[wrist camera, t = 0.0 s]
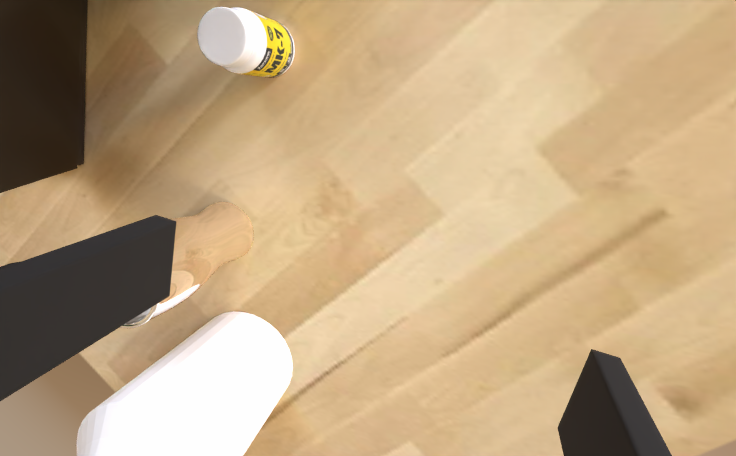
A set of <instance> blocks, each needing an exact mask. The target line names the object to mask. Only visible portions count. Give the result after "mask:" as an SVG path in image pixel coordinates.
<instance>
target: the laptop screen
mask: <svg viewBox="0 0 736 456" xmlns="http://www.w3.org/2000/svg"><path fill="white" fill-rule="evenodd" d="M80 2H81V0H0V193H2V192H5V191H8V190H11V189H14V188H17V187H20V186H23V185H26V184H30V183H33V182H36V181H39V180H42V179H45V178H48V177H51V176H54V175H57V174H61V173H64V172H67V171H70V170H73V169H76V168H77V158H78V106H79V54H80Z"/></svg>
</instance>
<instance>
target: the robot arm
mask: <svg viewBox="0 0 736 456" xmlns="http://www.w3.org/2000/svg"><path fill="white" fill-rule="evenodd" d="M175 232H176V221H174V220H170V219H167V218H164V217H161V216H157V215H154V216H152V217H149V218H146V219H143V220H140V221H137V222H134V223H131V224H129V225H126V226H123V227H120V228H117V229H114V230H111V231H108V232H106V233H103V234H100V235H97V236H94V237H91V238H88V239H85V240H83V241H80V242H77V243H74V244H71V245H68V246H65V247H62V248H60V249H57V250H54V251H51V252H48V253H45V254H42V255H39V256H36V257H34V258H31V259H28V260H25V261H22V262H16V263H10V264H7V265H5V266H2V267H0V401H1V400H3V399H4V398H6V397H8V396H9V395H11V394H13V393H14V392H16V391H17V390H19V389H21V388H22V387H24V386H26V385H27V384H29V383H30V382H32V381H34V380H35V379H37V378H38V377H40V376H42V375H43V374H45V373H47V372H48V371H50V370H51V369H53V368H55V367H56V366H58V365H59V364H61V363H62V362H64V361H66V360H67V359H69V358H71V357H72V356H74V355H75V354H77V353H79V352H80V351H82V350H84V349H85V348H87V347H88V346H90V345H92V344H93V343H95V342H96V341H98V340H100V339H101V338H103V337H105V336H106V335H108V334H109V333H111V332H113V331H114V330H116V329H117V328H119V327H121V326H122V325H124V324H125V323H127V322H129V321H130V320H132V319H134V318H135V317H137V316H138V315H140V314H142V313H143V312H145V311H146V310H148V309H150V308H151V307H153V306H154V305H156V304H158V303H159V302H161V301H163V300H164V299H166V298H167V297H169V296H170V286H171V275H172V264H173V253H174V242H175ZM558 431H559V436H560V440H561V445H562V449H563V454H564V456H672V455H671V453H670V451H669V450H668V448H667V446H666V444H665V442H664V440H663V438H662V436H661V434H660V433H659V431H658V429H657V427H656V425H655V423H654V421H653V419H652V417H651V416H650V414H649V412H648V410H647V408H646V406H645V404H644V402H643V400H642V399H641V397H640V395H639V393H638V391H637V389H636V387H635V385H634V383H633V382H632V380H631V378H630V376H629V374H628V372H627V370H626V368H625V366H624V365H623V363H622V361H621V359H620V358H618V357H615V356H612V355H609V354H605V353H602V352H599V351H596V350H592V349H591V352H590V354H589V356H588V359H587V361H586V363H585V365H584V368H583V370H582V372H581V375H580V377H579V379H578V382H577V384H576V386H575V389H574V391H573V393H572V396H571V398H570V400H569V403H568V405H567V407H566V410H565V412H564V414H563V417H562V419H561V421H560V423H559V426H558Z"/></svg>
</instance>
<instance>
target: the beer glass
mask: <svg viewBox="0 0 736 456" xmlns="http://www.w3.org/2000/svg"><path fill="white" fill-rule="evenodd" d="M170 220H174V221H176V232H175V242H174V253H173V264H172V275H171V286H170V296H169V297H167V298H166V299H164V300H163V301H161V302H159V303H158V304H156V305H154V306H153V307H151V308H150V309H148V310H146V311H145V312H143V313H142V314H140V315H138V316H137V317H135V318H134V319H132V320H130V321H129V322H127V323H125V324H124V325H122V326H121V327H122V328H135V327H138V326H141V325H143V324H145V323H146V322H147V321H149V320H151V319H153V318H155V317H157V316H159V315H161V314H163V313H165V312H167V311H168V310H170V309H172V308H173V307H175V306H177V305H178V304H180V303H182V302H183V301H184V300H186V299H187V298H189V297H190V296H191V295H193V294H194V293H195V292H196V291H197V290H198V289H199V288H200V287H201V286H202V285H203V284H204V283H205V282H206V281H207V280H208V279H209V278H210V277H211V276H212V275H213V273H214V272H215V271H216V270H217V269H218V268H219V267H220V266H221V265H223V264H224V263H226V262H230V261H233V260H236V259H239V258H241V257H243V256H244V255H245V254H247V252H248V251H249V250H250V248H251V246H252V244H253V240H254V230H253V226H252V223H251V221H250V219H249V217H248V216H247V214H246V213H245V212H244V211H243V210H242V209H241V208H239V207H238V206H236V205H234V204H232V203H228V202H217V203H214V204H211V205H209V206H208V207H206V208H205V209H204V210H203V211H201V212H200V213H199V214H197V215H194V216H189V217H180V218H171V219H170Z"/></svg>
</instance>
